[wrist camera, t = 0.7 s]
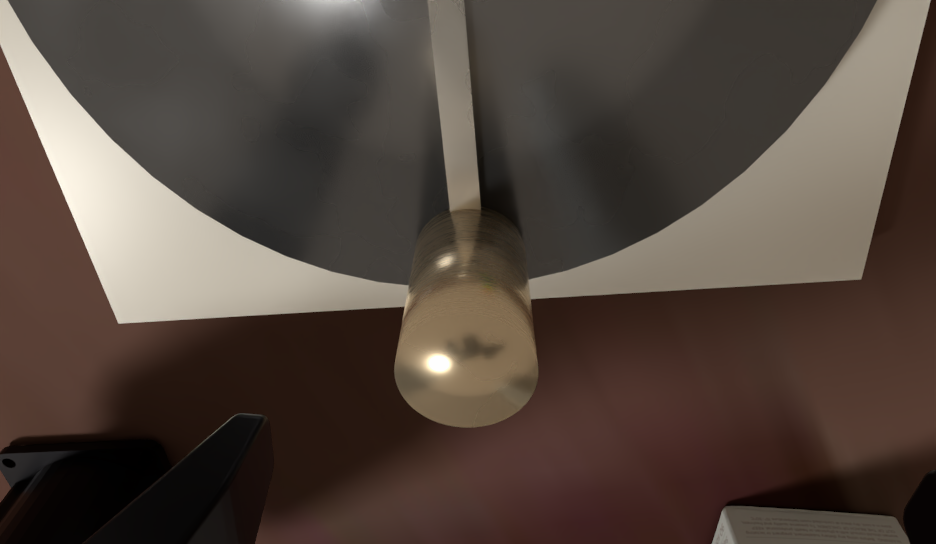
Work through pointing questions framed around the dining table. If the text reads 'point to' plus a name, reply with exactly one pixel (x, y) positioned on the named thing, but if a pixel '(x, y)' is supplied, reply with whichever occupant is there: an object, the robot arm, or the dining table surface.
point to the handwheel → (446, 139)
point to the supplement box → (804, 527)
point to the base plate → (628, 271)
